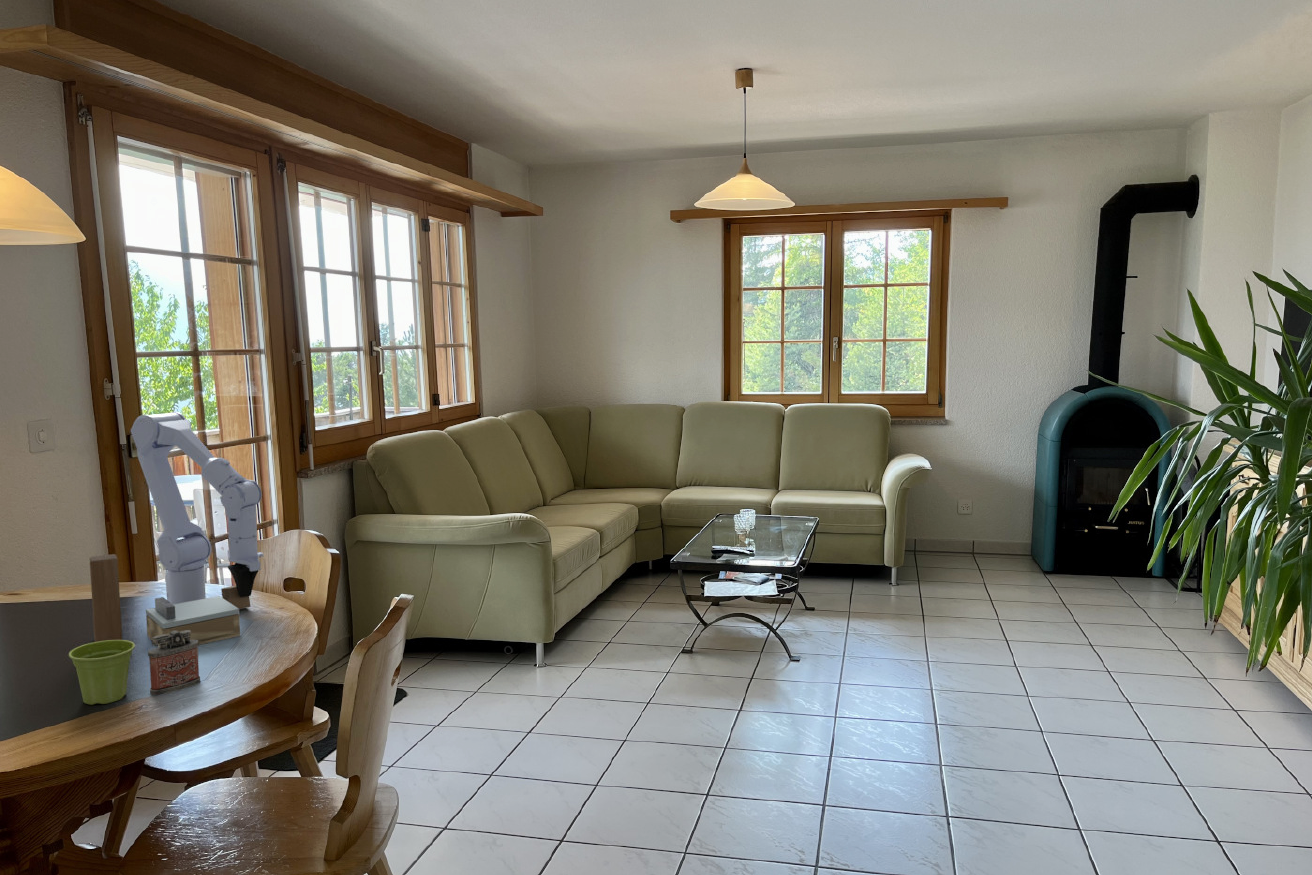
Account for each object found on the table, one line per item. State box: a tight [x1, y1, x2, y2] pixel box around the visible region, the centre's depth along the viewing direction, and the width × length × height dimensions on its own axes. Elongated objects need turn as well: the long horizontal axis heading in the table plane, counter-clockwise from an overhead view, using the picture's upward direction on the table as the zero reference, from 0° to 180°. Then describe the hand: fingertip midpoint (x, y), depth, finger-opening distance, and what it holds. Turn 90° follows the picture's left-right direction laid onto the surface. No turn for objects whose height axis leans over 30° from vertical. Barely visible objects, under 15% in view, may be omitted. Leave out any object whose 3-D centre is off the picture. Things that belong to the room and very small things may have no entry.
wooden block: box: [89, 553, 123, 642], centre depth 173 cm, size 9×4×18 cm, turn 34°
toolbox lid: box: [145, 595, 240, 629], centre depth 177 cm, size 12×14×4 cm
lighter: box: [147, 630, 201, 696], centre depth 152 cm, size 8×3×10 cm, turn 141°
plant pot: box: [68, 639, 136, 706], centre depth 147 cm, size 9×9×9 cm
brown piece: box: [145, 613, 241, 647], centre depth 178 cm, size 12×14×4 cm
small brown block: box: [220, 584, 251, 610], centre depth 195 cm, size 4×4×5 cm
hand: (245, 596), depth 194 cm, fingers closed
